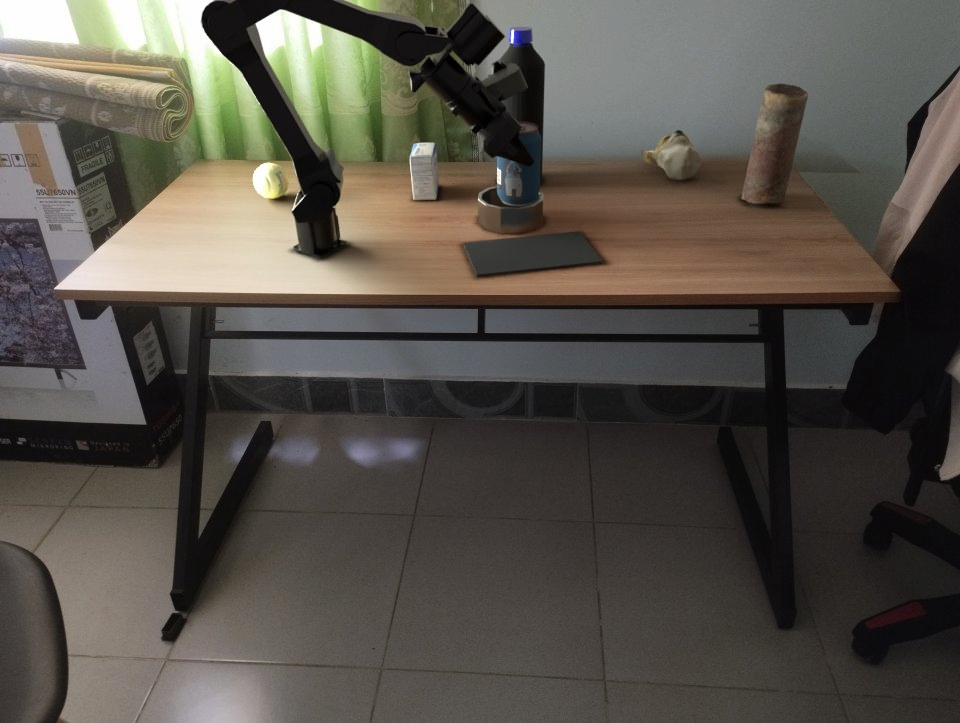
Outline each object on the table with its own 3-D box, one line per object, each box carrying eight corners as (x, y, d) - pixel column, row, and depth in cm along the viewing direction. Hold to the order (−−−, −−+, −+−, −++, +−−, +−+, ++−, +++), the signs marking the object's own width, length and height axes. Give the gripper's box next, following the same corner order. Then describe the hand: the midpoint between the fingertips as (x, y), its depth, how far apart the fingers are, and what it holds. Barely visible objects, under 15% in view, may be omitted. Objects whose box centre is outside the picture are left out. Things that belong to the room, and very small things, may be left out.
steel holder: (521, 238, 124) (521, 213, 122) (466, 224, 130) (465, 200, 127) (553, 216, 132) (554, 191, 129) (500, 204, 137) (500, 180, 135)
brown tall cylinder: (779, 194, 138) (803, 83, 127) (789, 209, 132) (815, 93, 121) (737, 194, 139) (757, 83, 128) (745, 209, 133) (766, 93, 122)
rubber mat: (476, 277, 113) (476, 274, 112) (463, 245, 123) (462, 242, 122) (602, 263, 116) (602, 261, 116) (579, 233, 126) (579, 230, 125)
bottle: (538, 189, 143) (542, 33, 128) (494, 187, 145) (492, 32, 129) (544, 174, 150) (548, 24, 135) (501, 172, 152) (501, 24, 136)
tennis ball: (271, 206, 139) (264, 171, 135) (248, 199, 142) (241, 165, 138) (297, 196, 143) (292, 162, 139) (274, 189, 146) (268, 156, 143)
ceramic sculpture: (663, 139, 138) (640, 122, 151) (658, 185, 143) (636, 164, 156) (718, 137, 139) (691, 120, 152) (712, 183, 144) (686, 162, 157)
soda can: (531, 190, 126) (533, 118, 119) (545, 205, 120) (548, 130, 114) (492, 194, 124) (492, 122, 118) (504, 209, 119) (504, 134, 112)
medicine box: (436, 200, 139) (433, 155, 135) (412, 201, 140) (409, 155, 135) (439, 185, 146) (436, 141, 141) (416, 186, 146) (413, 142, 141)
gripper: (507, 59, 101) (580, 135, 108) (483, 35, 116) (549, 103, 124) (451, 121, 104) (526, 191, 112) (436, 89, 120) (502, 153, 127)
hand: (527, 156), depth 119 cm, fingers closed on soda can, 7 cm apart
